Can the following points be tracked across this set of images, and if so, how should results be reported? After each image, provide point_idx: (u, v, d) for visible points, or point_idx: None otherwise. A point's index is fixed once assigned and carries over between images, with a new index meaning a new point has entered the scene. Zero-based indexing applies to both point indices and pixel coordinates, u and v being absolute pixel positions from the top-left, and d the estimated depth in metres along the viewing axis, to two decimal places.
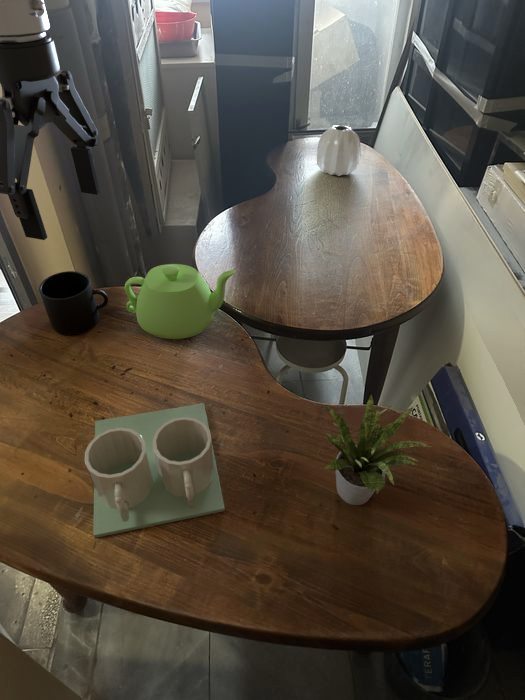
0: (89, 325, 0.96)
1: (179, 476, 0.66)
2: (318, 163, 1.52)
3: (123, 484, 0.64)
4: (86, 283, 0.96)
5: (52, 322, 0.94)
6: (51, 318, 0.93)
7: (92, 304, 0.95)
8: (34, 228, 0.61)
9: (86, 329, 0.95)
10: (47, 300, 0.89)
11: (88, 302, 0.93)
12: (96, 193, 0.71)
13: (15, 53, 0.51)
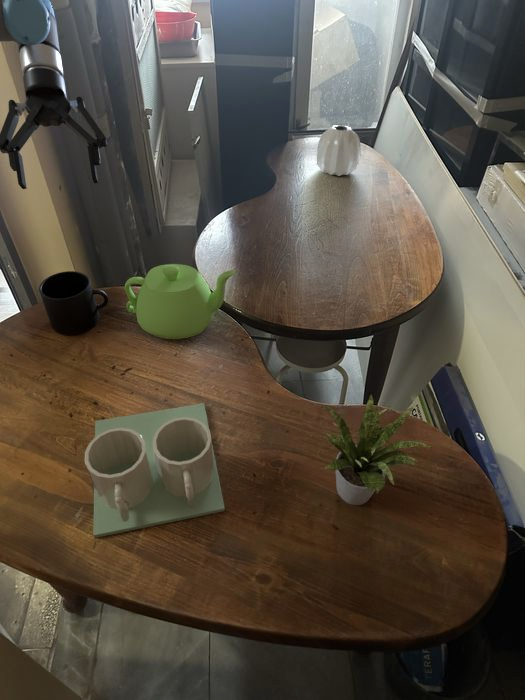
0: (89, 325, 0.96)
1: (179, 476, 0.66)
2: (318, 163, 1.52)
3: (123, 484, 0.64)
4: (86, 283, 0.96)
5: (52, 322, 0.94)
6: (51, 318, 0.93)
7: (92, 304, 0.95)
8: (96, 173, 0.96)
9: (86, 329, 0.95)
10: (47, 300, 0.89)
11: (88, 302, 0.93)
12: (26, 187, 0.94)
13: None
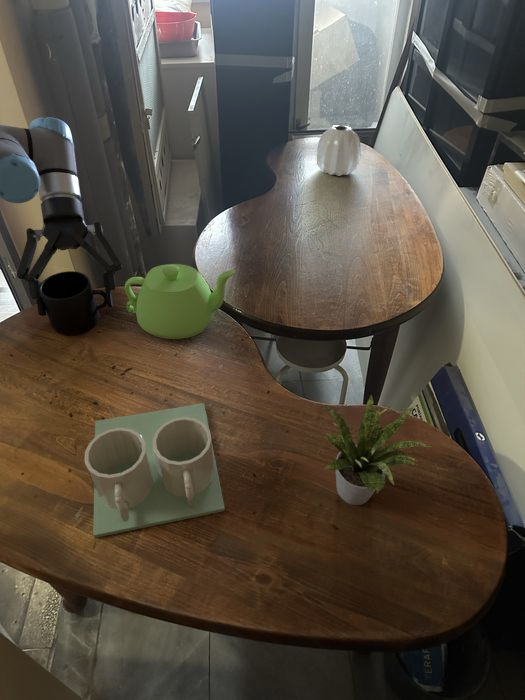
0: (89, 325, 0.96)
1: (179, 476, 0.66)
2: (318, 163, 1.52)
3: (123, 484, 0.64)
4: (86, 283, 0.96)
5: (52, 322, 0.94)
6: (51, 318, 0.93)
7: (92, 304, 0.95)
8: (111, 298, 0.96)
9: (86, 329, 0.95)
10: (47, 300, 0.89)
11: (88, 302, 0.93)
12: None
13: None
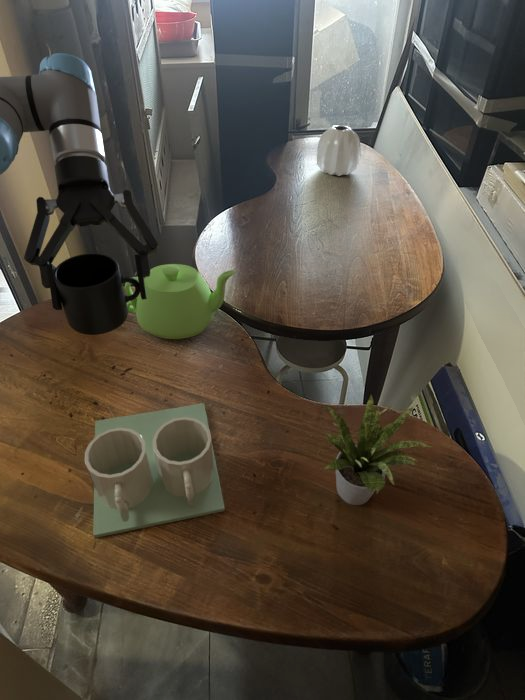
0: (117, 322, 0.75)
1: (179, 476, 0.66)
2: (318, 163, 1.52)
3: (123, 484, 0.64)
4: (112, 268, 0.75)
5: (70, 318, 0.73)
6: (69, 313, 0.72)
7: (121, 295, 0.74)
8: None
9: (113, 327, 0.75)
10: (65, 289, 0.69)
11: (117, 292, 0.72)
12: (61, 308, 0.73)
13: None
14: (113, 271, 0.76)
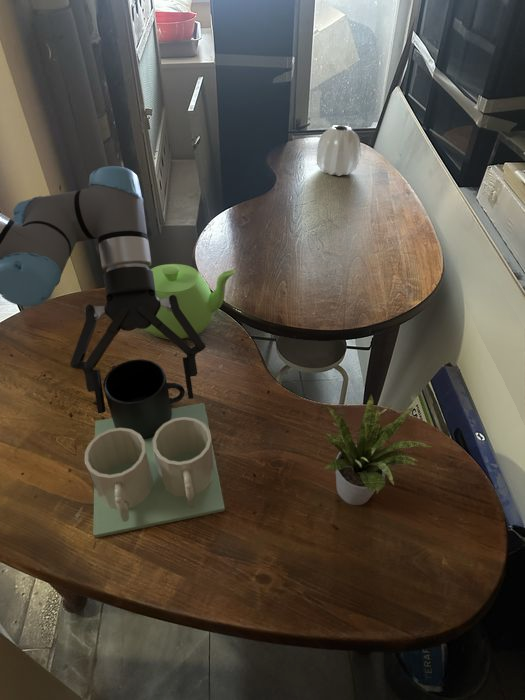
0: None
1: (179, 476, 0.66)
2: (318, 163, 1.52)
3: (123, 484, 0.64)
4: (158, 374, 0.77)
5: (117, 425, 0.75)
6: (117, 421, 0.74)
7: (167, 401, 0.76)
8: None
9: None
10: (115, 403, 0.71)
11: (164, 401, 0.74)
12: (105, 410, 0.75)
13: None
14: (158, 376, 0.77)
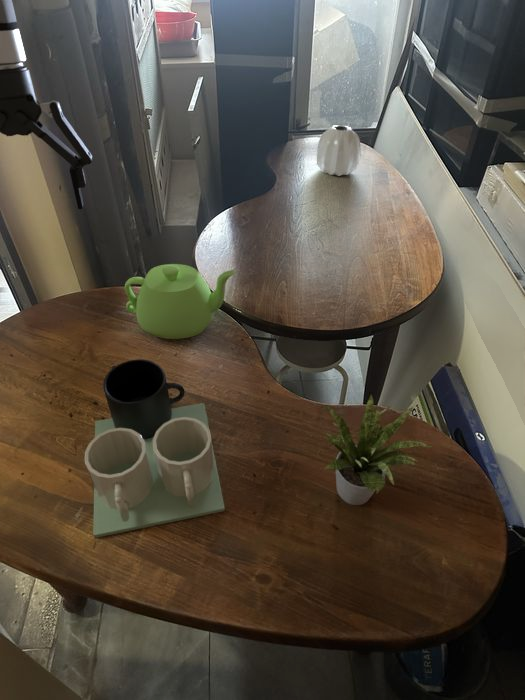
0: None
1: (179, 476, 0.66)
2: (318, 163, 1.52)
3: (123, 484, 0.64)
4: (158, 374, 0.77)
5: (117, 425, 0.75)
6: (117, 421, 0.74)
7: (167, 401, 0.76)
8: (81, 196, 0.83)
9: None
10: (115, 403, 0.71)
11: (164, 401, 0.74)
12: None
13: None
14: (158, 376, 0.77)
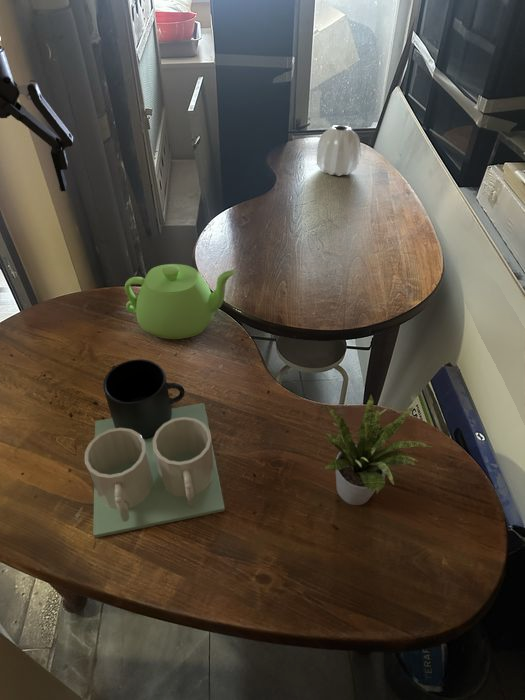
0: None
1: (179, 476, 0.66)
2: (318, 163, 1.52)
3: (123, 484, 0.64)
4: (158, 374, 0.77)
5: (117, 425, 0.75)
6: (117, 421, 0.74)
7: (167, 401, 0.76)
8: (64, 177, 0.82)
9: None
10: (115, 403, 0.71)
11: (164, 401, 0.74)
12: None
13: None
14: (158, 376, 0.77)
